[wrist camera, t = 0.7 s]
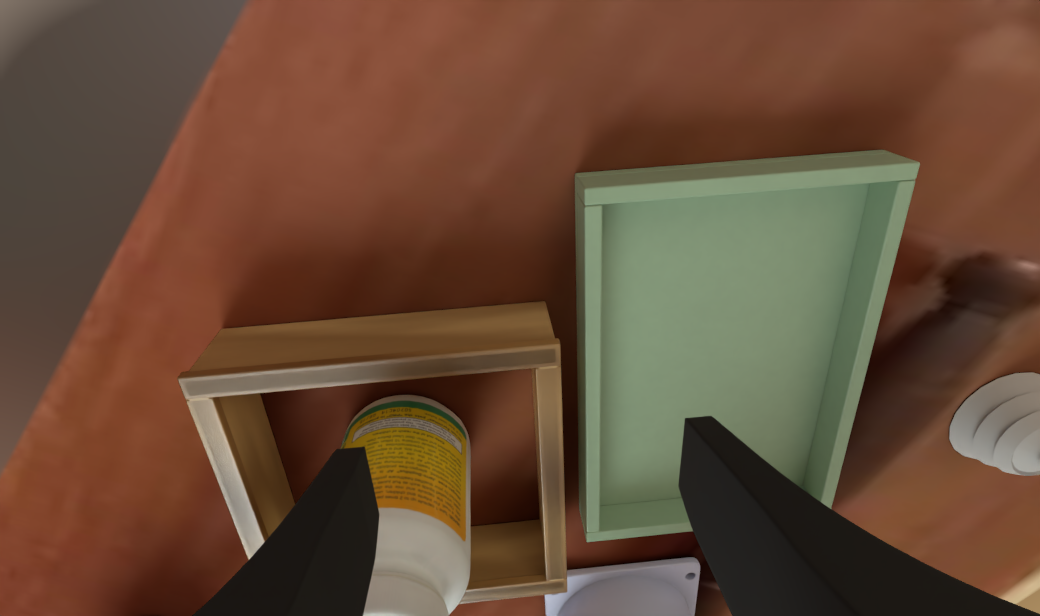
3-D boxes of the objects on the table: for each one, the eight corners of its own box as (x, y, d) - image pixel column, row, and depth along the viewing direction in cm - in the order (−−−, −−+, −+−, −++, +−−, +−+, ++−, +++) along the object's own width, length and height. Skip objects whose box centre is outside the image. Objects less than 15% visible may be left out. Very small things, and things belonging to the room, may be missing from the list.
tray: (807, 485, 29) (829, 517, 27) (578, 508, 28) (586, 542, 26) (883, 149, 21) (921, 162, 19) (574, 172, 21) (584, 188, 19)
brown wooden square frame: (556, 529, 29) (567, 592, 25) (294, 556, 28) (273, 624, 25) (547, 297, 23) (560, 343, 20) (217, 325, 22) (176, 378, 19)
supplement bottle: (479, 477, 27) (484, 698, 18) (362, 495, 27) (312, 725, 18) (458, 380, 24) (453, 583, 16) (329, 399, 24) (253, 614, 16)
